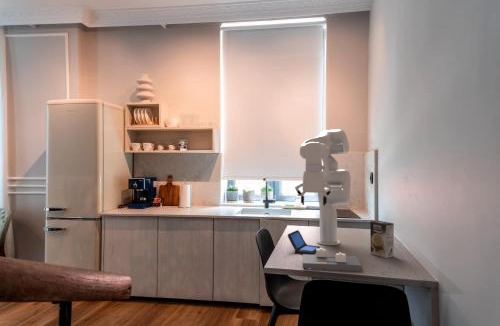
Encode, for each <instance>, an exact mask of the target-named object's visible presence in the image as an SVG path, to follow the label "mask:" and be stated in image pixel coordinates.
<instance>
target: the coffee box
mask: <svg viewBox="0 0 500 326" xmlns="http://www.w3.org/2000/svg"><path fill="white" fill-rule="evenodd" d="M369 223H370V230H369V231H370V234H369V235H370V255H375V256H378V257H381V258H385V259H388V258H391V257H394V256H395V255H394V251H395V249H394V245H395V244H394V241H395V239H394V233H395V232H394V227H395V226H394V225H395V224H394V222H388V221H383V220H373V221H372V220H371V221H370V222H369Z"/></svg>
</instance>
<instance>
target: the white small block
mask: <svg viewBox="0 0 500 326" xmlns="http://www.w3.org/2000/svg"><path fill="white" fill-rule="evenodd" d="M335 255H336V262H346V256H347V255H346V253H342V252H341V251H339V252H338V253H337V252H336V253H335Z"/></svg>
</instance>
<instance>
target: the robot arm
mask: <svg viewBox="0 0 500 326" xmlns="http://www.w3.org/2000/svg"><path fill="white" fill-rule="evenodd" d="M349 151H350V143H349V141H348V137H347V134H346V132H345V131H344V130H343V129H329V130H328V129H325V130H323V131H321V132H320V133H319V134H318V136H315V137H313V138H312V137H311V138H310V139H307V140H305V141H304V142H303V143H302V144H301V145H300V147H299V155H300V157H301V159H303V160H305V170H304V171H303V176H302V183H300V184H298V185H297V186H295V187H294V189H295V190H296V192H297V194H298V195H299V196H300V204H301V205H302V206H304V205H305V194H306V193H315V194H316V193H317V199H318V206H319V207H318V208H319V238H318V239H316V242H317V243H318V244H319V245H322V246H338V245H340V244H341V242H340V240H339V239H338V213H337V209H336V208H335V206H334V205H348V204H349V203H350V201H351V180H352V179H351V174H350V171H349V170H347V169H338V168H339V163H338V161H337V159H336V158H335V157H334V156H333V155H345V154H347V153H348V152H349ZM300 188H302V192H301V191H300Z"/></svg>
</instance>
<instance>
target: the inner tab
mask: <svg viewBox="0 0 500 326" xmlns="http://www.w3.org/2000/svg"><path fill="white" fill-rule="evenodd" d="M326 251H327V249H326V248H322V246H320V249H316V253H315V255H316V257H326V255H327V254H326Z"/></svg>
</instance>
